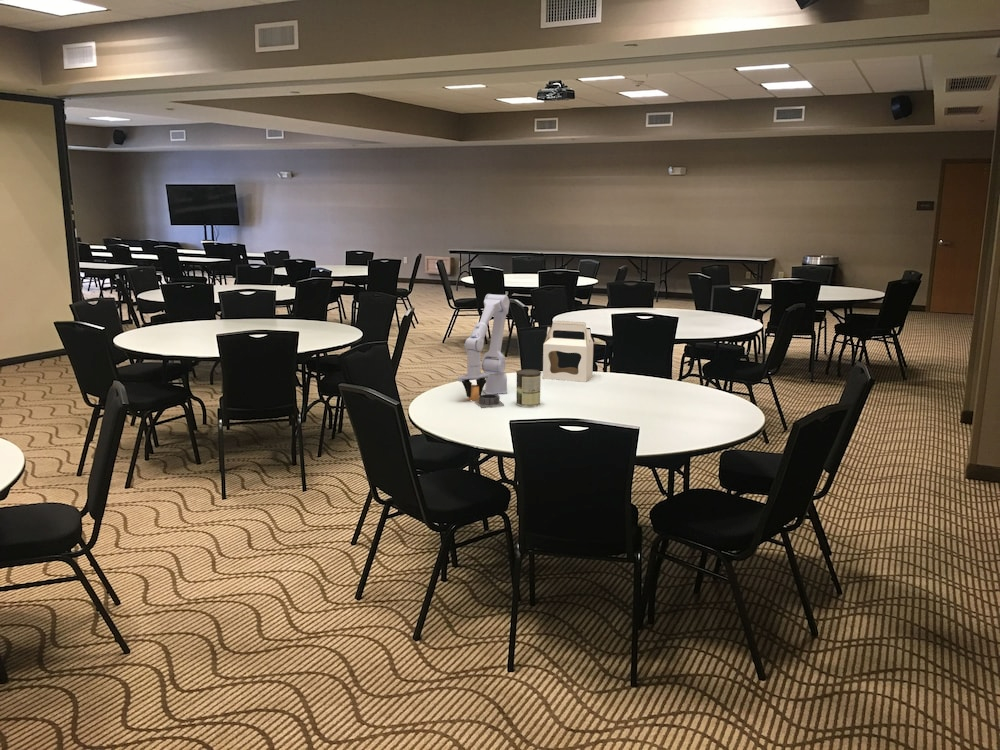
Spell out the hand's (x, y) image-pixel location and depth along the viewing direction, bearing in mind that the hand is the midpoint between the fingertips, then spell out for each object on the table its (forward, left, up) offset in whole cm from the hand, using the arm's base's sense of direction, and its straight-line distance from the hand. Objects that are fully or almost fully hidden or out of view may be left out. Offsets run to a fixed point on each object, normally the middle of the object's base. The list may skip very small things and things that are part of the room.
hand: (474, 396), depth 332 cm
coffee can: (-20, +14, -2) cm, 24 cm away
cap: (0, 0, -2) cm, 2 cm away
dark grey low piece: (-4, +10, -2) cm, 11 cm away
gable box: (-57, -32, -2) cm, 65 cm away
